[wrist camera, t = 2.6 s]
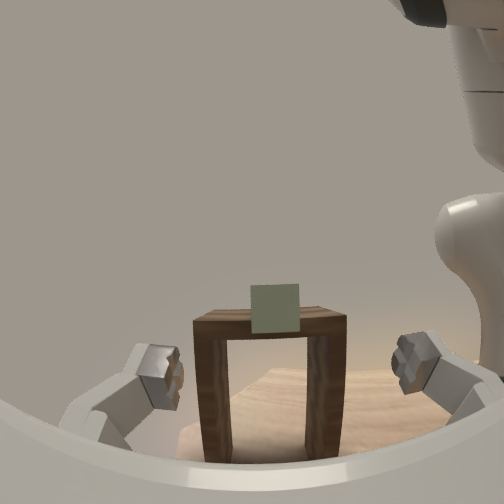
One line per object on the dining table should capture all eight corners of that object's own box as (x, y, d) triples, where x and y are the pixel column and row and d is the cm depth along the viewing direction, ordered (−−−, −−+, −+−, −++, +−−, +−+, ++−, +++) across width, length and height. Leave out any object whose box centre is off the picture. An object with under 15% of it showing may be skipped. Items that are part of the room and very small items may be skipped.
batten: (254, 310, 39) (254, 286, 40) (279, 309, 39) (278, 285, 40) (251, 333, 19) (250, 285, 20) (299, 331, 19) (298, 283, 20)
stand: (222, 447, 38) (213, 309, 41) (314, 443, 38) (318, 306, 41) (210, 496, 24) (192, 320, 27) (332, 490, 24) (346, 315, 27)
